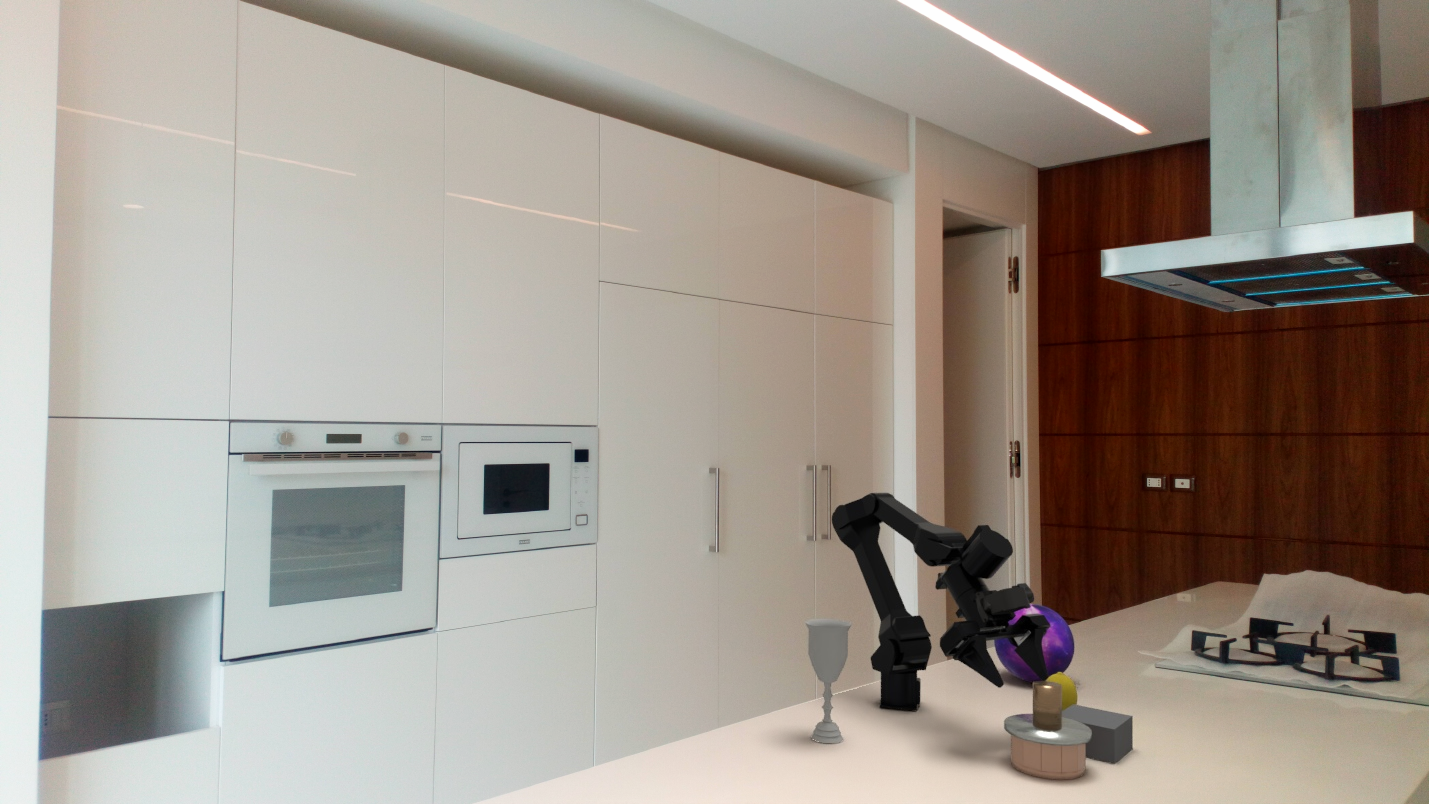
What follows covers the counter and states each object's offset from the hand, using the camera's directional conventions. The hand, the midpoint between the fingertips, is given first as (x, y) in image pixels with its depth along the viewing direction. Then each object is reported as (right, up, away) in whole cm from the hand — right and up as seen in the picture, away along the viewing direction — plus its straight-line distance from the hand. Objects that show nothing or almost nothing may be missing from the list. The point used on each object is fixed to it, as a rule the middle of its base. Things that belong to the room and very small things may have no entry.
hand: (1024, 682), depth 136 cm
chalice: (-29, -11, +6) cm, 32 cm away
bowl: (+2, -11, -4) cm, 12 cm away
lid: (+2, -6, -4) cm, 7 cm away
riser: (+12, -11, +4) cm, 17 cm away
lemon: (+12, -12, +19) cm, 26 cm away
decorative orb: (+17, -13, +43) cm, 48 cm away
